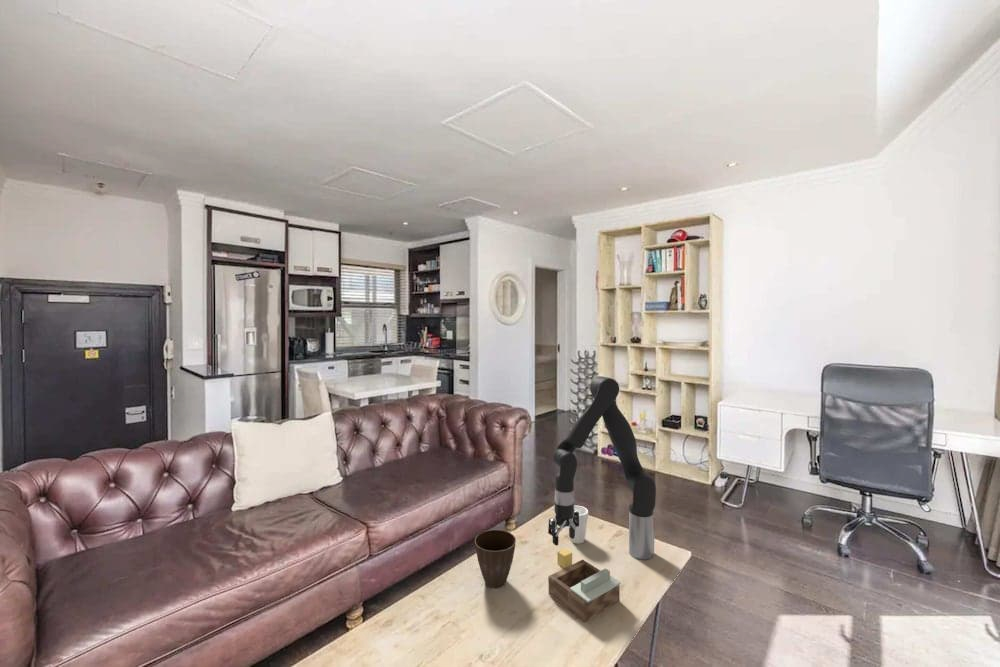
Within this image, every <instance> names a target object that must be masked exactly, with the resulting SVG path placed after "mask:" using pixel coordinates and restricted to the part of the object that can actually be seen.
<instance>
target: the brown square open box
mask: <svg viewBox="0 0 1000 667" xmlns="http://www.w3.org/2000/svg"><path fill="white" fill-rule="evenodd" d="M599 571H601V569H599V568H597V567H595V566H594V565H592V564H591V563H589V562H588V561H586V560H584V559H581V560H578V561H577V562H574V563H572V565H570V566H568V567H566V568H562V569H560V570H557V571H556V572H554V573H552V574H550V575H548V595H549V596H550V597H552V599H554V600H556V602H558V603H560V604H561V605H562V606H563V607H564V608H566V609H567V610H568V611H570V613H572V614H573V615H574V616H576V618H578V619H580V620H581V621H582V622H583V623H586V622H588V621H589V620H591V619H592V618H594V617H596V616H597V615H598V614H600V613H602V612H604V611H605V610H607V609H609V608H610V607H612V606H614V605H616V604H617V603H619V602H620V584H619V585H618V586H616V587H614V588H613V589H611V590H609V591H607V592H606V593H604V594H602V595H600V596H599V597H597V598H595V599H594V600H592V601H590V602H586V601H585V600H583V599H582V598H581V597H579V596H578V595H577V594H575V593H574V592H572V591H571V590H570V588H571V587H572V586H574V585H576V584H578V583H580V582H581V581H582V580H584V579H586V578H588V577H590V576H592V575H594V574H596V573H598V572H599Z"/></svg>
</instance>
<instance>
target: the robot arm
mask: <svg viewBox="0 0 1000 667" xmlns="http://www.w3.org/2000/svg"><path fill="white" fill-rule="evenodd" d="M589 389H590V390H589V391H590V393H591V396H592V397H593V401H592V402H591V404H590V406H589V407H587V409H586V410H585V411H584V412H583V413H582V414H581V415H580V416H579V418H578V419H576V420H575V423H574V424H572V427H571V428H570V430H569V432H568V434H567V436H566V437H565V438H564V439H563V440H562V441H561V442H560V443H559V444H558V445H557V446H556V448H555V449H554V452H553V455H552V458H553V462H554V463H555V464H556V465H557V466H558V467H559V472H558V473H556V476H555V485H554V486H555V488H554V506H553V507H554V513H555V518H549V519H548V529H547V530H548V531H547V533H548V534H549V535H550V536H551V537H552V544H553V545H555V546H558V545H559V535H560V532H562V530H563V529H564V528H566V527H568V526H569V527H570V528H569V531H568V535H569V537H570V538H572V539H574V537H575V529H576V527H578V526H579V512H577V511H575V510H574V505H575V493H574V491H575V490H574V488H575V487H574V485H575V484H574V483H575V482H574V480H575V477H576V473H577V469H578V459H577V457H576V455H575V454H574V451H575V450H577V449H581V448H583V447H584V446H585V443H586V442H587V440H588V438H589V437H590V434H591V433H592V431H593V429H594V428H595V426H596V424H597V423H598V422H599V420H600V419H601V417H602V419H603V422H604V425H605V428H606V431H607V433H608V435H609V438H610V441H611V443H612V446H613V448H614V451H615V453H616V455H617V457H618V459H619V462H620V463H621V464H620V465H621V466H622V470H623V475H624V478H625V481H626V485H627V487H628V488H629V490H630V491H631V492H632V501H631V502H630V503H629V507H628V514H629V517H628V527H629V529H628V534H629V535H628V538H629V539H628V548H629V549H628V552H629V554H630V555H631V557H633V558H635V559H638V560H650V559H651V558H653V557H654V554H655V530H654V509H655V507H656V498H657V486H656V482H655V481H654V479H653V478H652V477H650V475H649V474H647V473H646V472H645V470H644V468H643V467H642V465H641V462H640V460H639V458H638V457H639V456H638V448H637V440H636V437H635V435H634V432H633V429H632V426H631V425H630V423H629V421H628V420H627V418H626V417H625V416H624V414H623V413H622V411H621V410H620V409H619V407H618V405H617V403H616V399H617V397H618V395H619V392H620V384H619V382H618V381H617V380H616V379H614V378H611V377H607V376H596V377H594V378H593V379H591V382H590V384H589ZM572 518H573V521H572ZM570 538H569V539H570Z"/></svg>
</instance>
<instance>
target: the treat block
mask: <svg viewBox="0 0 1000 667" xmlns="http://www.w3.org/2000/svg"><path fill="white" fill-rule="evenodd" d="M556 555H557V556H556V557H557V560H556V561H557V565H559V566H560V567H561V568H562V569H564V568H566V567H568V566H570V565H572V564H573V552H571V550H569V549H567V548H566V547H565V548H562V549H560V550H558V551H557V554H556Z"/></svg>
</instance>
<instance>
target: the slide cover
mask: <svg viewBox="0 0 1000 667" xmlns="http://www.w3.org/2000/svg"><path fill="white" fill-rule="evenodd" d="M621 584H622V582H621V581H620V580H618V579H617V578H615V577H613V576H612V575H611V572H610V570H609V569H607V568H603V569H600V571H599V572H598V573H596V574H594V575H592V576H590V577H588V578H586V579H584V580H582V581H581V582H580V583H578V584H576V585H574V586H572V587H571V588H570V590H571V591H572V592H574V593H575V594H577V595H578V596H579V597H581V598H582V599H583V600H585V601H586V602H590V601H592V600H594V599H595V598H597V597H599V596H600V595H602V594H604V593H606V592H607V591H609V590H611V589H613V588H614V587H616V586H618V585H619V586H620V585H621Z"/></svg>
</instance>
